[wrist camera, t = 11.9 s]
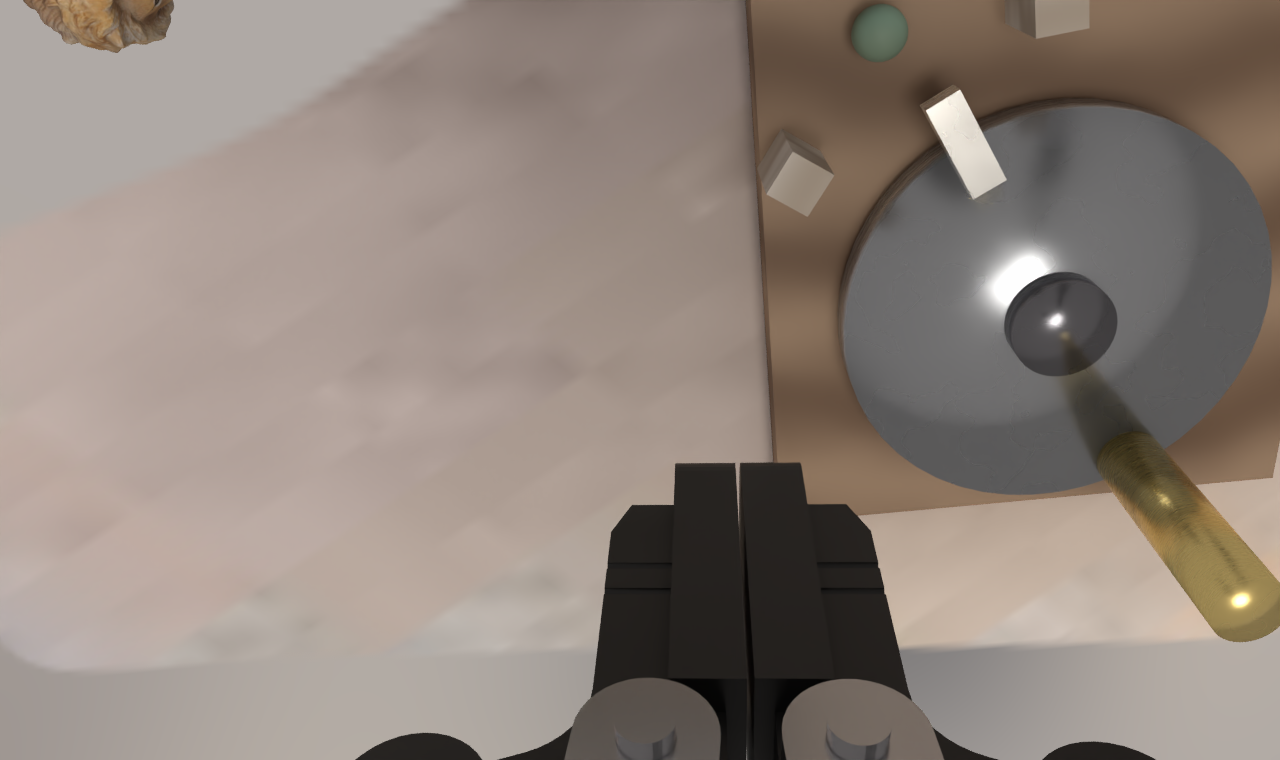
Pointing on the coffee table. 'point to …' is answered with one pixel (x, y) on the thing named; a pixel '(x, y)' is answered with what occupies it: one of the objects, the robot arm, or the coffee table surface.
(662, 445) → the coffee table surface
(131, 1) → the lion figurine
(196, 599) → the coffee table surface
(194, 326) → the coffee table surface
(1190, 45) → the turntable
